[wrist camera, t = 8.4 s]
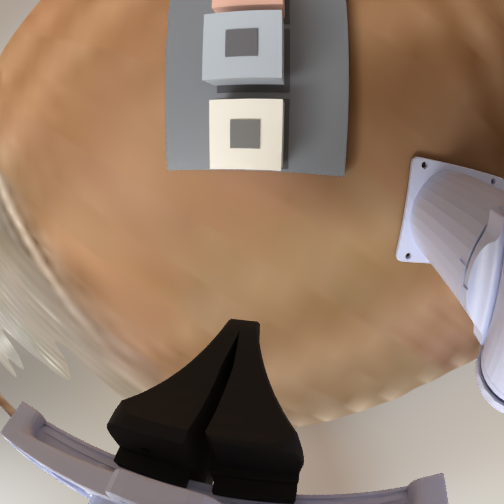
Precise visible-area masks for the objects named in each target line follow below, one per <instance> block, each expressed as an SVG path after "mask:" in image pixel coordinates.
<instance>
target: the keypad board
mask: <svg viewBox="0 0 504 504" xmlns="http://www.w3.org/2000/svg"><path fill="white" fill-rule="evenodd" d="M212 13H215V12H214V10H213V9H212V0H170V2H169V14H168V28H167V45H166V73H165V127H166V157H167V170H247V169H210V149H209V100H219V99H283V101H284V103H285V106H284V147H283V166H282V169H281V171H276V172H293V173H308V174H320V175H332V176H342V177H344V175H345V162H346V148H347V130H348V102H349V50H348V24H347V8H346V0H285V18H283V21H284V85H278V84H241V85H218V86H214V85H212V84H210V83H208V82H205V81H203V80H202V57H203V28H204V14H212ZM252 171H273V170H252Z"/></svg>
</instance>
